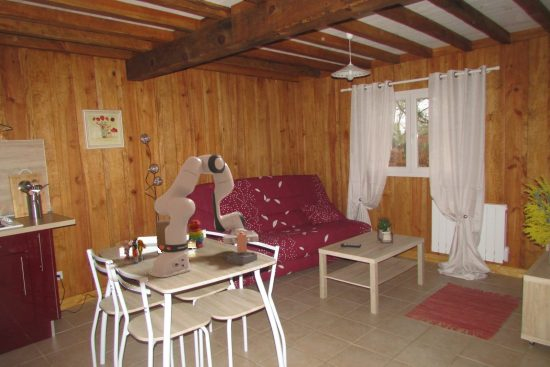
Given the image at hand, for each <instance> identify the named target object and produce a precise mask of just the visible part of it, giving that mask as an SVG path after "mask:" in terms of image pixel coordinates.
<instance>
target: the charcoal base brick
mask: <svg viewBox="0 0 550 367" xmlns="http://www.w3.org/2000/svg"><path fill="white" fill-rule="evenodd" d="M257 260H258V253H256V252H255V251H252V252H249V251H247V252H240V253H238V251H237V252H232V253H228V255H226V263H231V264H236V265H240V266H241V265H242V266H245V264H246V265H248V264H250V263H253V262H255V261H257Z"/></svg>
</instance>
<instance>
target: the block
mask: <svg viewBox="0 0 550 367" xmlns="http://www.w3.org/2000/svg"><path fill="white" fill-rule="evenodd" d="M170 220H171V218H162V219H160V220H157V221H156V222H155V228H156V229H155V231H156V247H158V248H159V246H160V245H162V246H164V245H165V243H166V242H165V228H166V227H167V226H168V225H169V224H170ZM159 249H160V248H159ZM160 250H161V252H163V249H160Z"/></svg>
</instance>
